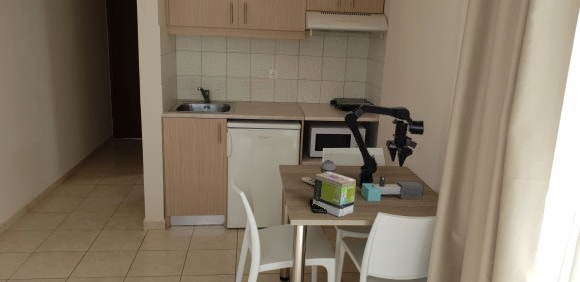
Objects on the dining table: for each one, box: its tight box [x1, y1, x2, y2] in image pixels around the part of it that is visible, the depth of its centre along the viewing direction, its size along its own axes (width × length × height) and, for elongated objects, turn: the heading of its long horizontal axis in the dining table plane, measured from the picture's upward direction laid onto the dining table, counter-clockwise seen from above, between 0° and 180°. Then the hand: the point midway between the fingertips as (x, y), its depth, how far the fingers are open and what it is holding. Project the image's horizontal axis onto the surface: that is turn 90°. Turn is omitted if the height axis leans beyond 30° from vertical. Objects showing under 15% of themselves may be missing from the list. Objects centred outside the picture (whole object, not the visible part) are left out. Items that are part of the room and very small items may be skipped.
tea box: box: [312, 171, 357, 218], centre depth 192 cm, size 15×10×15 cm
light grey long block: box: [372, 175, 402, 195], centre depth 212 cm, size 17×4×8 cm, turn 100°
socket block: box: [360, 182, 382, 202], centre depth 211 cm, size 6×9×6 cm, turn 11°
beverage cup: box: [320, 151, 337, 173], centre depth 213 cm, size 7×7×20 cm
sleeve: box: [396, 181, 425, 201], centre depth 215 cm, size 11×5×7 cm, turn 101°
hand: (396, 164), depth 223 cm, fingers open, 9 cm apart
